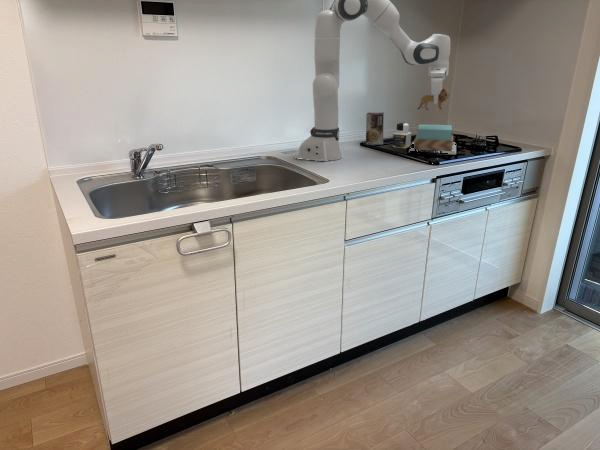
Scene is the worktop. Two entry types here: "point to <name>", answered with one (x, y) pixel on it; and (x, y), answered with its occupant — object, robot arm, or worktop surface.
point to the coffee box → (374, 128)
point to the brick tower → (434, 139)
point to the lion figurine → (428, 98)
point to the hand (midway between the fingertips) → (436, 102)
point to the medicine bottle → (402, 136)
